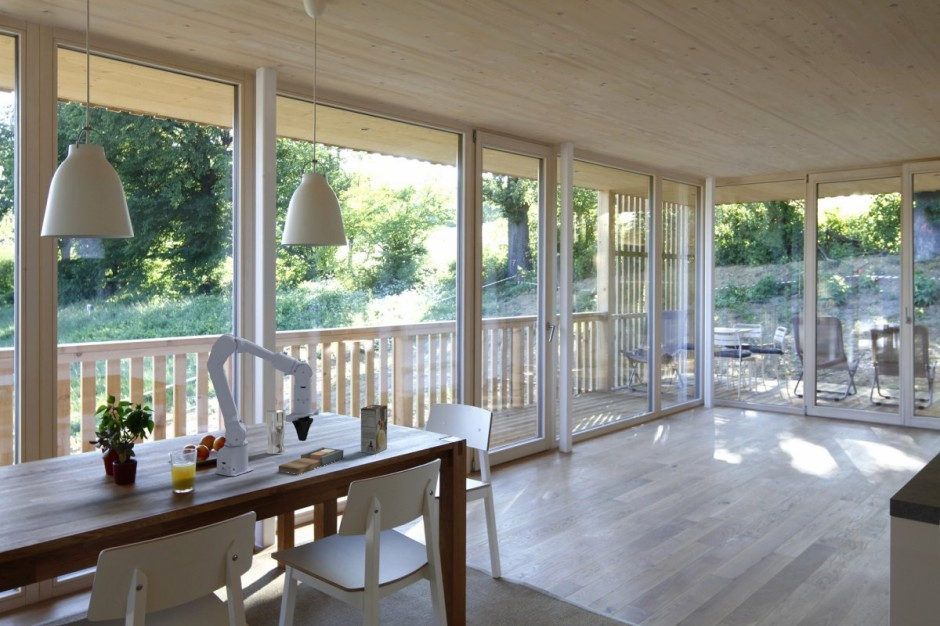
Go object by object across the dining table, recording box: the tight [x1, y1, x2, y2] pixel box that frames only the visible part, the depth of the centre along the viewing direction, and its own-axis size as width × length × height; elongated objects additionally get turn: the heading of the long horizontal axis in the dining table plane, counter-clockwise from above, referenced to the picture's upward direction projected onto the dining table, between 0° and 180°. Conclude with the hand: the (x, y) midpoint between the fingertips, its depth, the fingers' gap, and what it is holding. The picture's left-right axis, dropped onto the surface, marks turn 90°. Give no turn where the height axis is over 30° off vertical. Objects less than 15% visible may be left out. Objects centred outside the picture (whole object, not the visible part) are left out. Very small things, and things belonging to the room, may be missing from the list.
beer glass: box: [265, 408, 287, 455], centre depth 261 cm, size 7×7×15 cm
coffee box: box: [360, 404, 388, 455], centre depth 266 cm, size 9×6×16 cm
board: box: [278, 457, 323, 475], centre depth 240 cm, size 12×8×2 cm, turn 155°
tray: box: [300, 447, 344, 467], centre depth 251 cm, size 12×9×3 cm
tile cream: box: [319, 448, 335, 454], centre depth 253 cm, size 4×4×2 cm
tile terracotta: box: [310, 452, 327, 460], centre depth 249 cm, size 4×4×2 cm
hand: (302, 440), depth 240 cm, fingers closed
